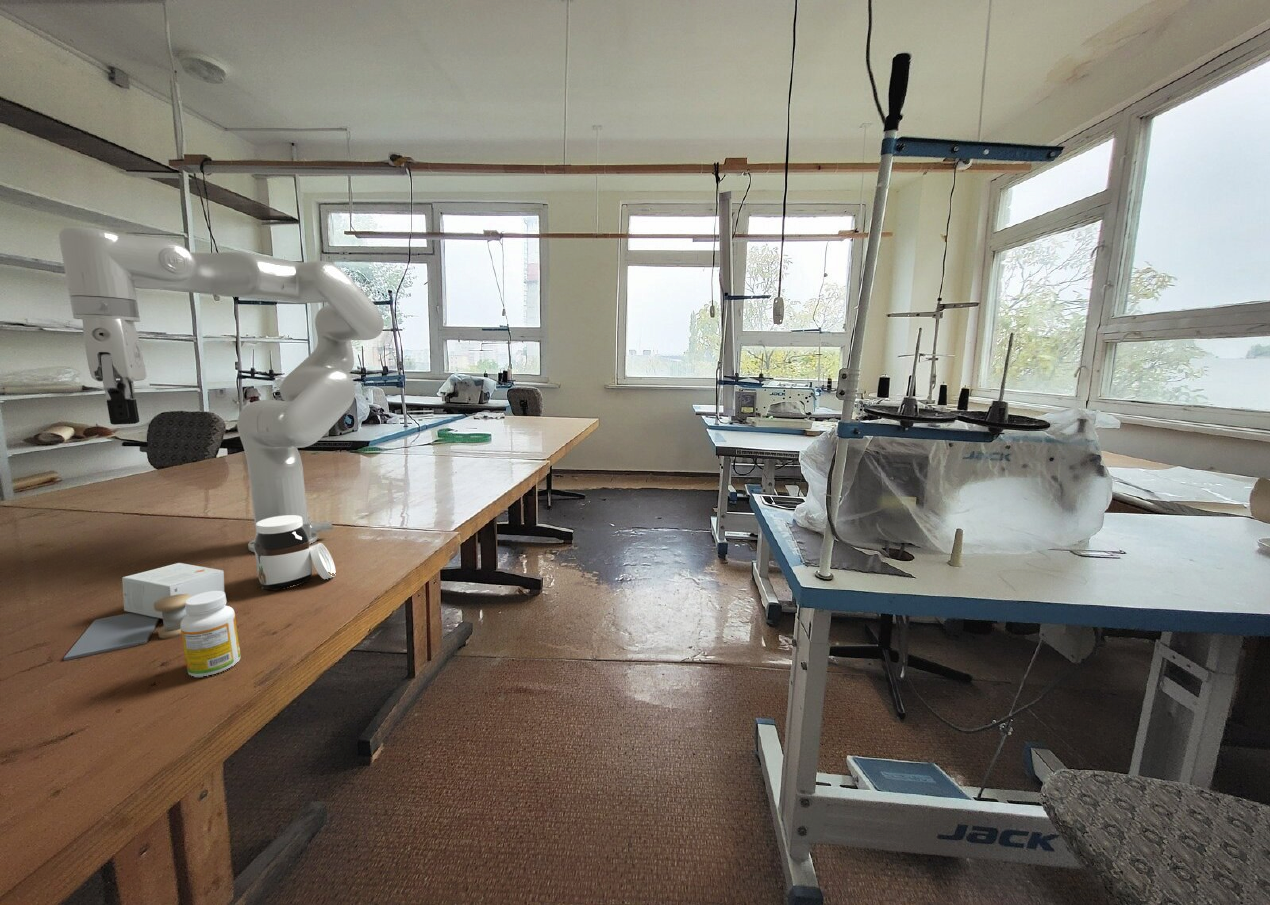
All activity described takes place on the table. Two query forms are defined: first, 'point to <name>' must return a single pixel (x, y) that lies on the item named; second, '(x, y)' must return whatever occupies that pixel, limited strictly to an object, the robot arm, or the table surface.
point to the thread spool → (171, 614)
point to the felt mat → (113, 634)
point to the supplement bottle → (209, 634)
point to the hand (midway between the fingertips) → (125, 423)
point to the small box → (168, 586)
